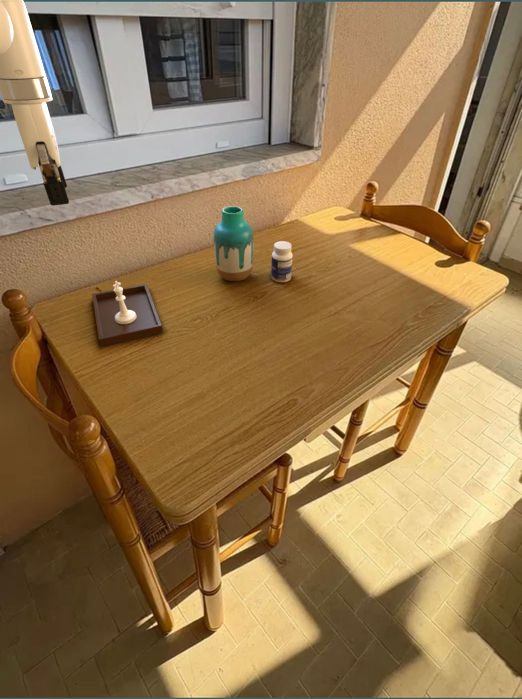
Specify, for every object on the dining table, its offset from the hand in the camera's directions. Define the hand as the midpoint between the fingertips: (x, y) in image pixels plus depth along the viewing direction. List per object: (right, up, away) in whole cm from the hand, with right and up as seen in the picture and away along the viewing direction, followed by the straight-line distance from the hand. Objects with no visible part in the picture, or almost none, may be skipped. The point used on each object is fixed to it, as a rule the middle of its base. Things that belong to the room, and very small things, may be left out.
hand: (59, 195), depth 74 cm
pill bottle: (+45, -10, +33) cm, 57 cm away
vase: (+32, -10, +33) cm, 47 cm away
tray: (+7, -22, +18) cm, 29 cm away
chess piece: (+7, -23, +16) cm, 29 cm away
